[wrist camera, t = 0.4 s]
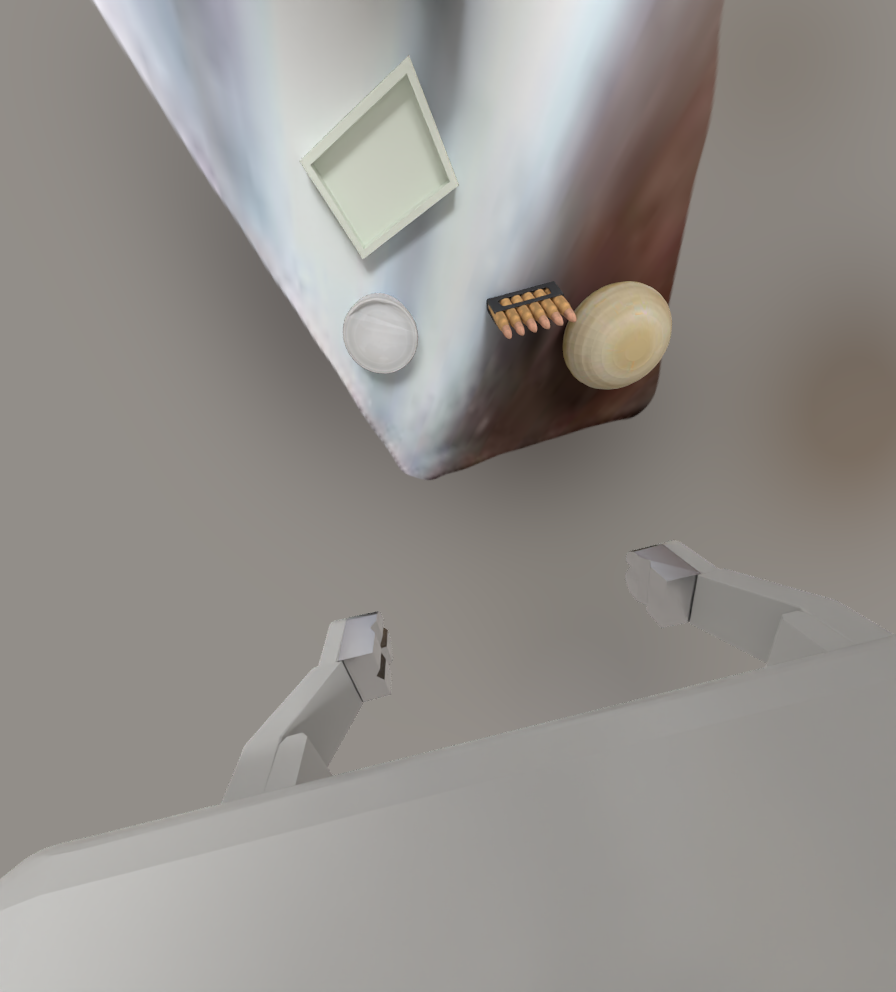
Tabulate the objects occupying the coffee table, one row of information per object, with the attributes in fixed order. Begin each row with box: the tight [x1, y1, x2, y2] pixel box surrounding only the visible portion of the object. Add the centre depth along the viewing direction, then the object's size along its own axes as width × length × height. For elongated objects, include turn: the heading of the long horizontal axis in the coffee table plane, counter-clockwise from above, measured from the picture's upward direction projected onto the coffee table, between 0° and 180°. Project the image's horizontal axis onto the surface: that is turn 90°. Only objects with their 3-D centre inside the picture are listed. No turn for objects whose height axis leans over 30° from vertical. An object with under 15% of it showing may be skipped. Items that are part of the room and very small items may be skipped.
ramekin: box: [343, 293, 418, 374], centre depth 51 cm, size 11×11×5 cm
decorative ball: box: [563, 281, 672, 389], centre depth 51 cm, size 15×15×15 cm
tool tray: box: [300, 55, 459, 259], centre depth 38 cm, size 11×15×2 cm
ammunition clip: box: [487, 281, 577, 339], centre depth 48 cm, size 11×2×12 cm, turn 102°
